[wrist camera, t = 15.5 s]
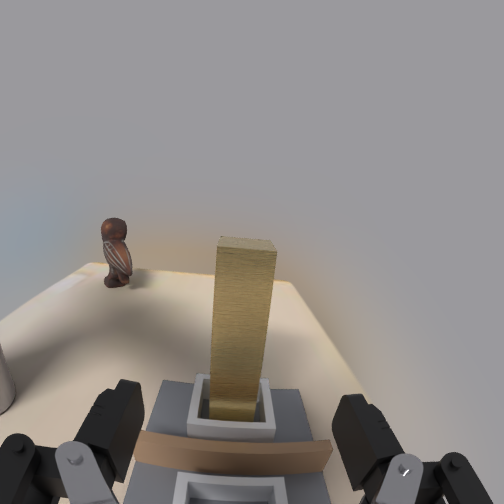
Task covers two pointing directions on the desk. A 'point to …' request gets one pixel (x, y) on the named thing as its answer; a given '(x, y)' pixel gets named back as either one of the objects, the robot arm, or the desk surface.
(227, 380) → the post
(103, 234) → the figurine
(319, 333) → the desk surface
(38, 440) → the desk surface
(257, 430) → the plate
